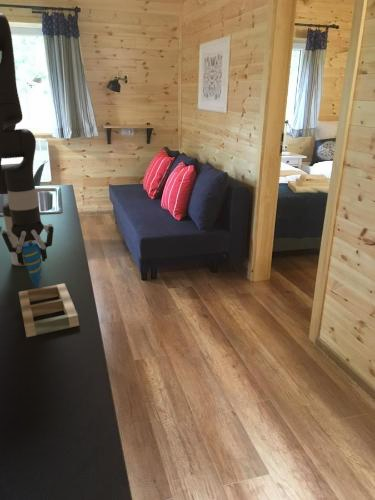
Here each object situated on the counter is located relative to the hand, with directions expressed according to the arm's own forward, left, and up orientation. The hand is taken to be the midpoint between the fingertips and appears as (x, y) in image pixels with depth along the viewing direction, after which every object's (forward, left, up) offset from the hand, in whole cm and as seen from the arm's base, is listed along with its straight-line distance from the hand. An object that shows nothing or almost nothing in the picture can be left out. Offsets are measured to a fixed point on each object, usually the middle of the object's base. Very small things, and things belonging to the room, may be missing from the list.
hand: (32, 261), depth 121 cm
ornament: (0, 0, -8) cm, 8 cm away
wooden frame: (+15, +1, -9) cm, 18 cm away
